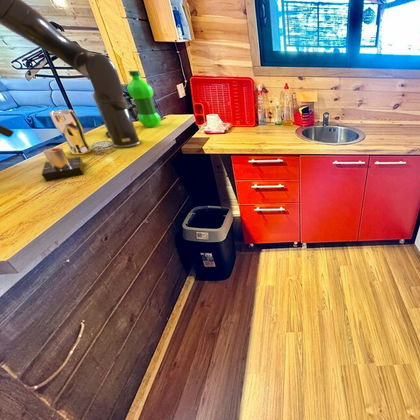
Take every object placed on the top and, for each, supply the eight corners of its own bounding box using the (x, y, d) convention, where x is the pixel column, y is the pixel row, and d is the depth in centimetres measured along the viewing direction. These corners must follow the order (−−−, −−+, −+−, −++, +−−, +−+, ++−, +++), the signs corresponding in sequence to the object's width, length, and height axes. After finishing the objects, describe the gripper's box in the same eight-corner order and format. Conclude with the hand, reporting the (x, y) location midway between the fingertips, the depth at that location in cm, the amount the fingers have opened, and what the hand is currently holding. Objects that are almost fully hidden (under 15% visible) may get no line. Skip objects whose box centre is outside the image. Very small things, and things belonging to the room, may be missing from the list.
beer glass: (72, 149, 101) (52, 110, 93) (94, 147, 104) (76, 109, 96) (67, 156, 96) (45, 114, 88) (91, 153, 99) (71, 113, 91)
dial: (48, 169, 81) (38, 151, 78) (59, 163, 84) (49, 146, 81) (64, 168, 81) (54, 151, 78) (73, 163, 85) (64, 146, 82)
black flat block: (49, 169, 86) (44, 161, 85) (83, 163, 91) (79, 156, 90) (45, 181, 79) (41, 173, 78) (83, 174, 84) (79, 167, 82)
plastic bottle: (166, 123, 137) (151, 70, 123) (156, 128, 128) (138, 72, 114) (147, 122, 137) (130, 69, 123) (136, 128, 128) (115, 71, 114)
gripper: (-105, 90, 58) (0, 135, 68) (-63, 82, 68) (22, 122, 79) (-120, 116, 58) (-15, 157, 69) (-76, 104, 69) (9, 141, 80)
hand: (5, 138), depth 74 cm, fingers open, 8 cm apart
